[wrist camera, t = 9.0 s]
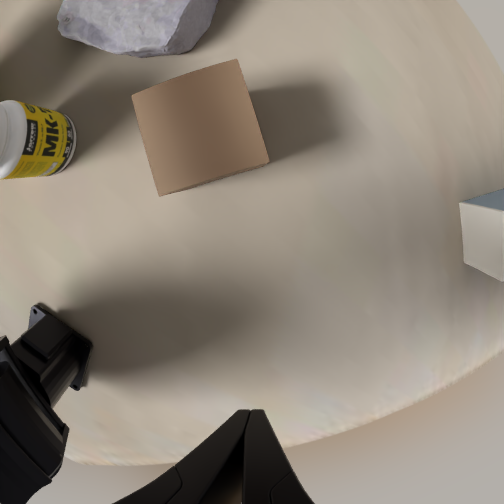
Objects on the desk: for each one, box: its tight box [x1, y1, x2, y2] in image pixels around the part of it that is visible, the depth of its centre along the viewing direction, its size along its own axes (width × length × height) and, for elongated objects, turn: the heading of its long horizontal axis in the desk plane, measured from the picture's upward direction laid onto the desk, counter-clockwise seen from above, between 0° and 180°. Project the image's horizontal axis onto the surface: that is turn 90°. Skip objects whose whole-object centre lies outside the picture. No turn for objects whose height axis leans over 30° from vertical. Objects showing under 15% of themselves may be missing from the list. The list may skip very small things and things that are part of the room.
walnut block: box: [131, 59, 270, 196], centre depth 15 cm, size 5×5×6 cm
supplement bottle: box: [0, 100, 76, 180], centre depth 13 cm, size 5×5×8 cm
